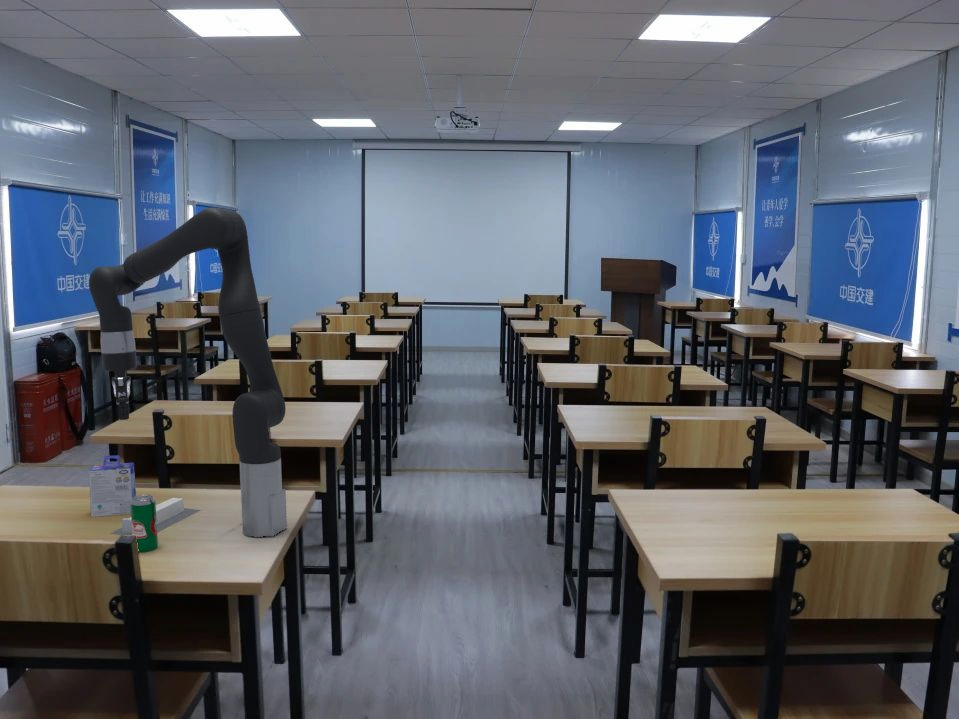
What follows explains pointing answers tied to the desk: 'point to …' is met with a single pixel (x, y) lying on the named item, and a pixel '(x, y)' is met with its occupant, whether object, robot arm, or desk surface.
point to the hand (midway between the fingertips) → (124, 416)
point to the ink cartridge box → (111, 487)
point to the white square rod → (159, 513)
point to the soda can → (144, 522)
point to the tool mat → (166, 521)
